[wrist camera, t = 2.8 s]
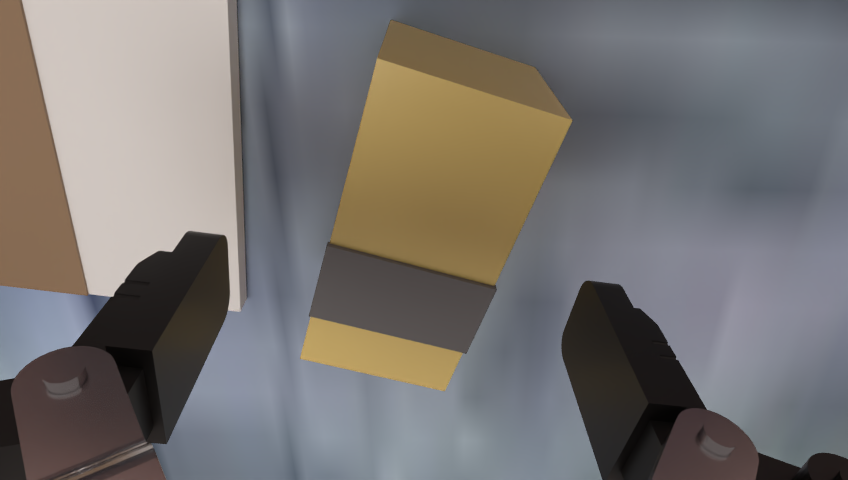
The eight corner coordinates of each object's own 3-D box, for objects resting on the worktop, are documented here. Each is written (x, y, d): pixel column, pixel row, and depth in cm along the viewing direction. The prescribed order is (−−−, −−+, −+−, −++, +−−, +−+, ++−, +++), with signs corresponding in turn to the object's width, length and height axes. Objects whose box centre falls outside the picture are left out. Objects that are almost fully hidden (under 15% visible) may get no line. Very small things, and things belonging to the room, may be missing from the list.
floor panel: (235, -51, 14) (224, -48, 14) (246, 298, 21) (239, 313, 20) (-286, -136, 13) (-329, -139, 13) (-109, 256, 20) (-131, 270, 19)
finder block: (535, 66, 16) (575, 123, 12) (442, 293, 21) (446, 395, 16) (389, 17, 15) (373, 59, 11) (326, 263, 20) (297, 362, 16)
